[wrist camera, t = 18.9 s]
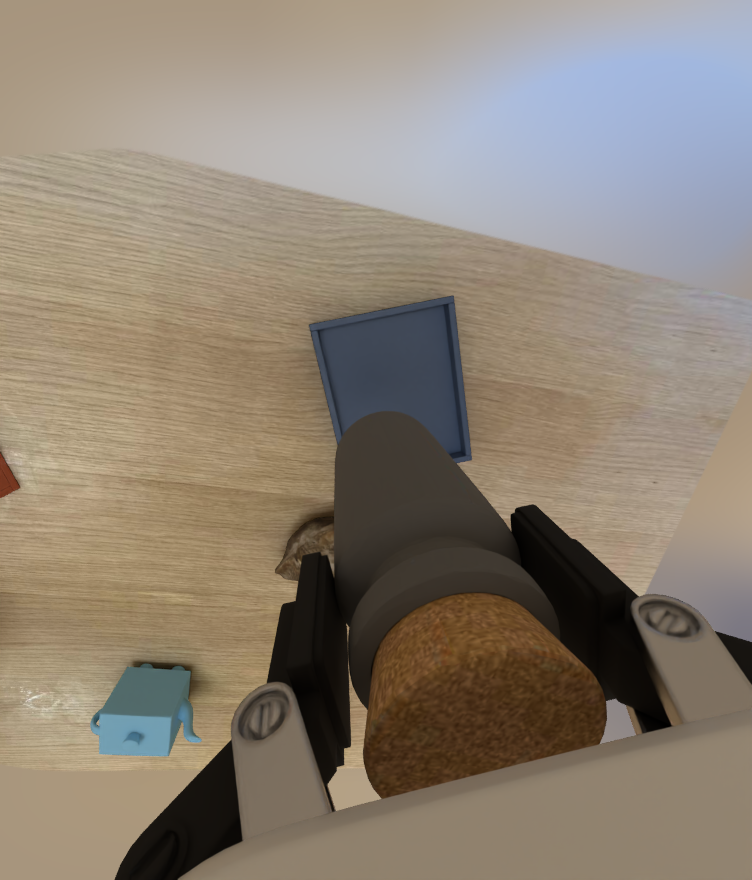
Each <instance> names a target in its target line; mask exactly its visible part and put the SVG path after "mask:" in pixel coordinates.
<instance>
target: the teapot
mask: <svg viewBox="0 0 752 880" xmlns="http://www.w3.org/2000/svg"><path fill="white" fill-rule="evenodd" d="M190 675H191V671H185V669H184V668H183V667H182V666H175V667H173V669H172V670H168V669H153V666H152V665H150V664H143V665H141V666H140V668H139V667H127V669H126V670H125V672H124V674H123V675H122V677H121V678H120V680H119V682H118V683H117V685H116V687H115V688H114V690H113V692H112V693H111V695H110V697H109V698H108V700H107V702H106V703H105V705H104V707H103V708H102V709H100V710H99V711H98V712H97V713H96V714H95V715H94V716H93V718H92V720H91V724H90V726H91V730H92V732H93V733H94V734H96V735H99V754H109V755H136V756H169V754H170V751H171V749H172V746H173V743H174V741H175V738H176V736H177V733H178V731H179V728H180V725H181V723H182V722H183V724H184V737H185V738H186V740H188V741H190V742H201V741H202V740H201V739H200V738H199V737H198V736H196V735H195V733H194V732H193V708H192V705H191V703H190V702H189V701H188V696H189V686H190ZM98 720H99V726H98V725H97V724H96V722H97V721H98Z"/></svg>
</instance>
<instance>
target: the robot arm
mask: <svg viewBox="0 0 752 880" xmlns="http://www.w3.org/2000/svg"><path fill="white" fill-rule="evenodd" d="M511 531H512V534H513V536H514V538H515V540H516V542H517V545H518V548H519V551H520V556H521V567H522V568H523V569H524V570H525V571H526V572H527V573H528V574H529V575H530V576H531V577H532V578H533V579H534V581H535V582H536V583H537V584H538V586H539V587H540V588H541V589H542V591H543V592H544V593H545V595H546V597H547V598H548V600H549V601H550V603H551V605H552V606H553V608H554V611H555V613H556V616H557V618H558V622H559V628H560V642H561V643H562V644H563V645H564V646H565V647H566V648H567V649H568V650H569V651H570V652H572V653H573V654H574V655H575V656H576V657H577V658H578V659H579V660H580V661H581V662H582V663H583V664H584V665H585V666H586V667H587V668H588V669H589V670H590V671H591V672H592V673H593V674H594V676H595V677H596V679H597V681H598V683H599V684H600V686H601V688H602V690H603V694H604V697H605V700H606V701H608V700H612V699H617V700H618V701H619V702H620V703H623V704H625V705H626V707H627V710H628V713H629V716H630V719H631V722H632V725H633V727H634V730H635V733H636V735H635V736H631V737H627V738H623V739H619V740H615V741H611V742H607V743H602V744H598V745H594V746H590V747H586V748H582V749H578V750H574V751H570V752H566V753H562V754H558V755H554V756H550V757H546V758H542V759H538V760H534V761H530V762H526V763H522V764H518V765H514V766H510V767H506V768H502V769H498V770H494V771H490V772H486V773H482V774H478V775H474V776H470V777H466V778H462V779H458V780H454V781H450V782H446V783H442V784H439V785H435V786H431V787H427V788H423V789H419V790H415V791H411V792H407V793H403V794H400V795H396V796H392V797H388V798H384V799H380V800H377V801H373V802H368V803H365V804H361V805H357V806H353V807H350V808H346V809H343V810H339V811H336V810H335V806H334V803H333V801H332V797H331V794H330V791H329V788H328V785H327V784H328V783H329V781H330V780H331V778H332V777H333V776H334V774H335V773H336V771H337V767H338V766H343V765H344V748H348V747H350V746H351V727H350V698H349V670H348V642H347V626H346V622H345V620H344V618H343V616H342V614H341V613H340V611H339V607H338V604H337V600H336V595H335V584H334V576H333V572H332V569H331V565H330V561H329V558H328V555H323V556H322V555H321V552H315V553H311V554H306V555H303V556H302V561H301V568H300V575H299V581H298V588H297V595H296V601H294V602H290V603H285V604H283V605H282V607H281V611H280V616H279V622H278V627H277V632H276V637H275V643H274V648H273V653H272V658H271V663H270V669H269V674H268V679H267V684H264V685H262V686H260V687H258V688H256V689H255V690H254V691H252V692H251V693H249V694H248V695H247V697H246V698H245V699H244V700H243V701H242V702H241V703H240V705H239V707H238V708H237V710H236V711H235V714H234V717H233V720H232V723H231V738H232V739H231V741H230V742H229V743H228V744H227V745H226V746H225V747H224V748H223V749H222V750H221V751H220V752H219V753H218V754H217V755H216V756H215V757H214V758H213V759H212V760H211V761H210V763H209V764H208V765H207V766H206V767H205V768H204V769H203V770H202V771H201V772H200V773H199V774H198V775H197V776H196V777H195V778H194V779H193V781H191V782H190V783H189V785H188V786H187V787H186V788H185V789H184V790H183V791H182V792H181V793H180V794H179V795H178V796H177V797H176V798H175V799H174V800H173V801H172V802H171V804H169V806H168V807H167V808H166V809H165V810H164V811H163V812H162V813H161V814H160V815H159V816H158V817H157V818H156V819H155V820H154V821H153V822H152V823H151V824H150V825H149V827H148V828H147V829H146V830H145V831H144V832H143V833H142V834H141V835H140V836H139V838H138V839H137V840H136V842H135V843H134V844H133V845H132V846H131V848H130V849H129V851H128V853H127V855H126V856H125V858H124V859H123V861H122V863H121V865H120V867H119V870H118V872H117V875H116V877H115V880H752V642H749V641H746V640H743V639H739V638H736V637H733V636H729V635H726V634H723V633H719V632H716V631H714V630H713V629H712V627H711V626H710V624H709V623H708V621H707V620H706V619H705V618H704V616H703V615H702V614H701V613H700V612H699V611H698V610H696V609H695V608H693V607H692V606H691V605H689V604H687V603H685V602H683V601H681V600H679V599H676V598H673V597H669V596H666V595H658V594H647V595H643V596H640V597H639V596H638V595H637V594H635V593H634V592H633V591H632V590H631V589H630V588H629V587H628V586H627V585H626V584H624V583H623V582H622V581H621V580H620V579H619V578H618V577H617V576H616V575H615V574H614V573H612V572H611V571H610V570H609V569H608V568H607V567H606V566H605V565H604V564H603V563H602V562H600V561H599V560H598V559H597V558H596V557H595V556H594V555H593V554H592V553H591V552H590V551H588V550H587V549H586V548H585V547H584V546H583V545H582V544H581V543H580V542H578V541H577V540H575V539H571V538H570V537H569V536H568V535H567V534H566V533H565V532H564V531H563V530H562V529H560V528H559V527H558V526H557V525H556V524H555V523H554V522H553V521H552V520H551V519H550V518H549V517H548V516H547V515H545V514H544V513H543V512H542V511H541V510H540V509H539V508H538V507H537V506H536V505H533V504H532V505H528V506H523V507H518V508H516V509H515V513H512V514H511Z"/></svg>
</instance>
